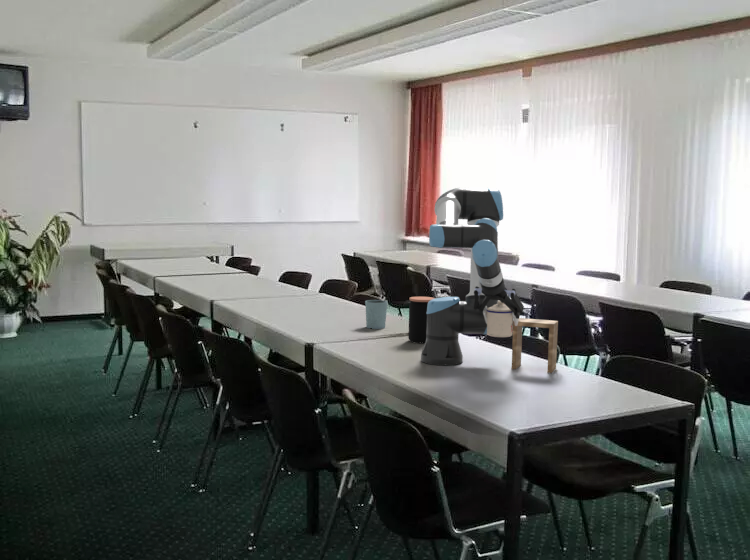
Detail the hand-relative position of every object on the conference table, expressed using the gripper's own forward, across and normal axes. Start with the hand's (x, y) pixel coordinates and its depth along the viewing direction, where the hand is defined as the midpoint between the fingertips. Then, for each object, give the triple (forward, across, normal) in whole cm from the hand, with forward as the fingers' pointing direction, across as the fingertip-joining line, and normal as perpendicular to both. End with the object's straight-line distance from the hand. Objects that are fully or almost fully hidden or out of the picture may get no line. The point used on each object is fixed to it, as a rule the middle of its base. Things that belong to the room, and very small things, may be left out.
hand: (502, 321), depth 274 cm
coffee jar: (+39, -44, +15) cm, 61 cm away
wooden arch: (+18, +10, -6) cm, 21 cm away
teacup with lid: (+1, -1, -5) cm, 5 cm away
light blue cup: (+54, -74, +31) cm, 97 cm away
